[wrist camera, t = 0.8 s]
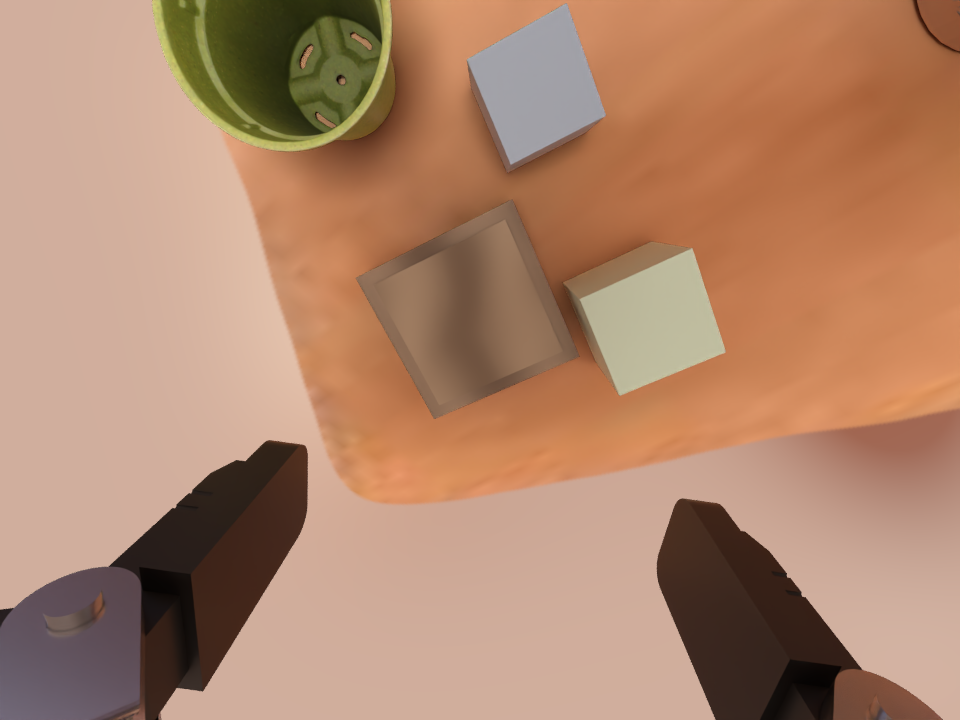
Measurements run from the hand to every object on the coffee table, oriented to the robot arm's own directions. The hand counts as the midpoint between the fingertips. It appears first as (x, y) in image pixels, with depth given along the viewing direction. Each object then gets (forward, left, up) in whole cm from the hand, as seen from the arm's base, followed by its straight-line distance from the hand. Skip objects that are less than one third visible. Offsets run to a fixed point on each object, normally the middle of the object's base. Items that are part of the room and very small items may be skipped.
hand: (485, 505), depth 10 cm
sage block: (-8, +3, -21) cm, 23 cm away
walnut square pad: (+1, -1, -21) cm, 21 cm away
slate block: (-7, -10, -21) cm, 24 cm away
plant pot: (+2, -16, -21) cm, 26 cm away
